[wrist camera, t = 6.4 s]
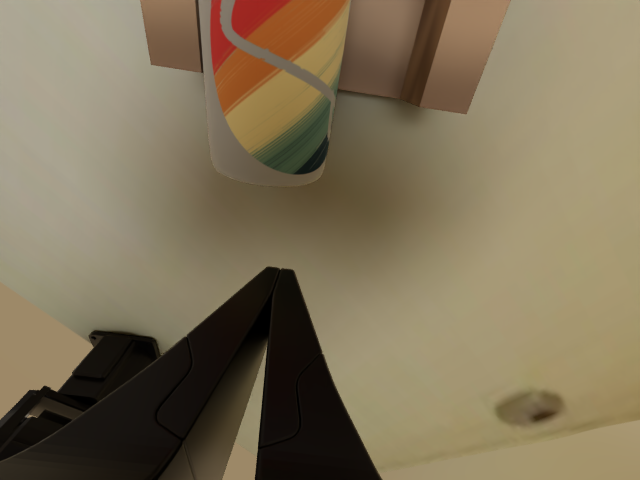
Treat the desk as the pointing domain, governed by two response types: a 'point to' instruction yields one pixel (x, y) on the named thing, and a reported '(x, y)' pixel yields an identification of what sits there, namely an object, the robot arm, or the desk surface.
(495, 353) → the desk surface
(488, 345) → the desk surface
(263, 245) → the desk surface
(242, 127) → the lotion bottle
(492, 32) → the cradle
